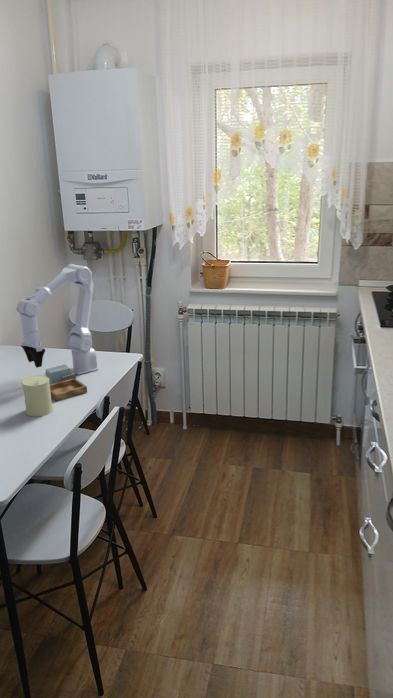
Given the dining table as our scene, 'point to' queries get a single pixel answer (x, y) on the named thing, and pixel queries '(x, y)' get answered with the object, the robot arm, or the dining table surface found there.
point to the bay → (69, 376)
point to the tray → (67, 389)
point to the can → (37, 395)
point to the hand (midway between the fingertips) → (35, 364)
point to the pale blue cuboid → (57, 373)
